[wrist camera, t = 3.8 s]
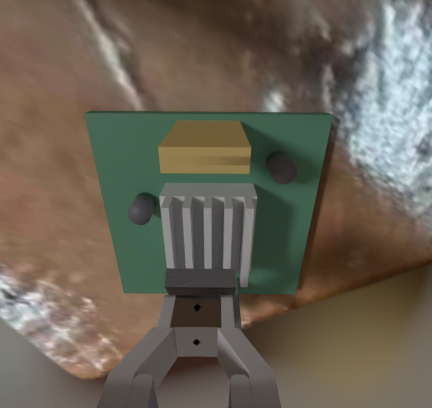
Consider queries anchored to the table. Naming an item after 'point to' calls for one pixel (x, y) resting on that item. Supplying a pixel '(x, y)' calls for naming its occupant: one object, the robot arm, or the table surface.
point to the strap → (200, 281)
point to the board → (273, 199)
